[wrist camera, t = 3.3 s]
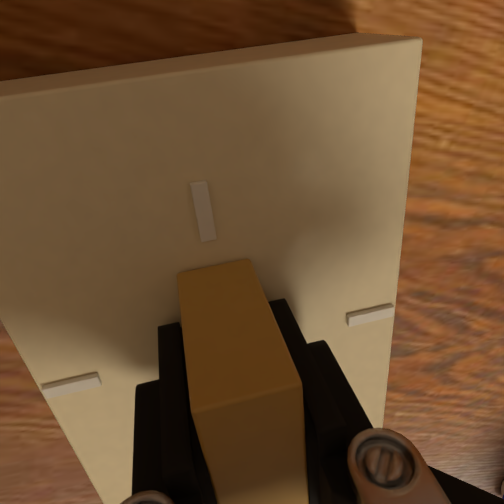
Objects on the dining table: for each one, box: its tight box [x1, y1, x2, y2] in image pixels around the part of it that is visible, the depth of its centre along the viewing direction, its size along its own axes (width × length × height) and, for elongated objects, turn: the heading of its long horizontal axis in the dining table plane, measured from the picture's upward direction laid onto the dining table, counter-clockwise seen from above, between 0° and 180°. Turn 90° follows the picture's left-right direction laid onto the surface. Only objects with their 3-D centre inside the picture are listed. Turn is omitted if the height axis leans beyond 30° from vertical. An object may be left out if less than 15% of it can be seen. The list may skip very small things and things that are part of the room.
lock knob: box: [177, 259, 309, 504], centre depth 9 cm, size 6×2×4 cm, turn 6°
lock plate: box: [0, 33, 423, 504], centre depth 12 cm, size 14×10×3 cm
